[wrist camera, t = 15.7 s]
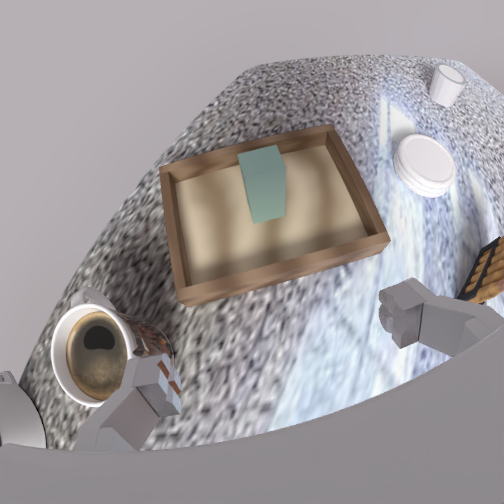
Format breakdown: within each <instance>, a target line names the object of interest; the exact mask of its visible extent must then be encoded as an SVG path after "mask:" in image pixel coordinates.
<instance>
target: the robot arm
mask: <svg viewBox="0 0 504 504" xmlns="http://www.w3.org/2000/svg"><path fill="white" fill-rule="evenodd" d="M379 301H380V302H381V303H382V305H381V306H380V308H379V318H380V322H381V324H382V326H383V328H384V329H385V331H386V332H389V333H392V339H393V341H394V342H395V343H396V344H397V346H398V347H399V348H400V349H401V348H404V347H406V346H408V345H411V344H413V343H415V342H417V341H419V342H420V343H422V344H424V345H426V346H429V347H431V348H433V349H435V350H438V351H440V352H442V353H444V354H447V355H449V356H451V357H453V358H451V359H449V360H448V361H446V362H444V363H442V364H440V365H439V366H437V367H435V368H433V369H431V370H429V371H428V372H426V373H424V374H422V375H420V376H418V377H416V378H414V379H412V380H410V381H408V382H406V383H404V384H402V385H400V386H397V387H395V388H393V389H391V390H389V391H386V392H384V393H382V394H380V395H377V396H375V397H373V398H370V399H368V400H365V401H363V402H360V403H358V404H355V405H353V406H350V407H347V408H345V409H342V410H339V411H336V412H334V413H331V414H328V415H325V416H322V417H319V418H316V419H313V420H309V421H306V422H303V423H300V424H296V425H293V426H289V427H285V428H282V429H278V430H274V431H270V432H266V433H262V434H258V435H253V436H249V437H244V438H239V439H234V440H229V441H224V442H218V443H212V444H205V445H199V446H191V447H183V448H174V449H164V450H151V451H140V449H141V448H142V446H143V444H144V443H145V441H146V440H147V438H148V437H149V435H150V433H151V432H152V430H153V429H154V427H155V426H156V424H157V422H158V421H159V419H160V417H166V416H172V415H178V414H180V407H181V400H180V399H179V397H178V395H179V394H180V392H181V381H180V377H179V374H178V372H177V370H176V369H175V368H174V367H172V366H170V361H171V360H170V358H169V357H168V355H167V354H166V353H159V354H154V355H148V356H142V357H137V358H132V359H129V360H128V361H127V364H126V367H125V371H124V375H123V379H122V382H121V386H120V389H118V390H116V391H115V392H114V393H113V394H112V395H111V396H110V397H109V398H108V399H107V400H106V401H105V402H104V403H103V404H102V405H101V406H100V407H99V408H98V409H97V410H96V411H95V412H94V413H93V414H92V415H91V417H90V418H89V419H88V420H87V421H86V422H85V423H84V424H83V425H82V426H81V427H80V429H79V433H78V436H77V440H76V444H75V447H74V451H68V450H56V449H46V440H45V433H44V429H43V425H42V422H41V419H40V417H39V414H38V412H37V410H36V408H35V406H34V404H33V403H32V401H31V399H30V398H29V397H28V395H27V394H26V393H25V392H24V391H23V390H22V389H21V388H20V387H19V386H18V385H17V383H16V381H15V379H14V377H13V375H12V373H11V372H9V371H4V372H2V373H0V504H504V318H503V317H502V316H500V315H499V314H498V313H497V312H496V311H494V310H493V309H492V308H491V307H489V306H485V305H480V304H476V303H472V302H467V301H463V300H458V299H454V298H449V297H445V296H441V295H440V296H436V295H435V294H433V293H432V292H431V291H430V290H429V289H428V288H426V287H425V286H424V285H423V284H422V283H420V282H419V281H418V280H417V279H415V278H410V279H407V280H405V281H403V282H401V283H398V284H396V285H393V286H391V287H388V288H386V289H383V290H380V292H379Z"/></svg>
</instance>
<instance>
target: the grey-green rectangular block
mask: <svg viewBox="0 0 504 504" xmlns="http://www.w3.org/2000/svg"><path fill="white" fill-rule="evenodd" d="M237 155H238V160H239V164H240V169H241V174H242V179H243V183H244V188H245V193H246V198H247V202H248V206H249V210H250V213H251V216H252V220H253V223H254V224H257V223H261V222H264V221H268V220H272V219H275V218H279V217H283V216H285V200H286V166H285V164H284V162H283V159H282V157H281V154H280V152H279V150H278V147H277V145H273V146H269V147H264V148H260V149H256V150H252V151H248V152H244V153H241V154H237Z"/></svg>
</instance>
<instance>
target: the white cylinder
mask: <svg viewBox="0 0 504 504" xmlns="http://www.w3.org/2000/svg"><path fill="white" fill-rule="evenodd" d="M465 84H466V79H465V78H464V76H463V75H462V74H461V73H460V72H459V71H457V70H456V69H454V68H453V67H451V66H449V65H446V64H442V63H438V64H436V67H435V71H434V75H433V78H432V82H431V86H430V90H429V94H430V96H431V98H432V99H433V100H434V101H436V102H437V103H439V104H440V105H443V106H445V107H450V106H452V105H453V103H454V102H455V100H456V99H457V97H458V95H459V94H460V92H461V91H462V89H463V88H464V86H465Z"/></svg>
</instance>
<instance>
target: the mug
mask: <svg viewBox="0 0 504 504" xmlns="http://www.w3.org/2000/svg"><path fill="white" fill-rule="evenodd" d="M84 297H86V298H88V299H90V300H91V301H92V302H94V303H84ZM159 353H166V354H167V355H168V357H169V358H170V360H171V361H170V366H172V367H174V354H173V350H172V347H171V344H170V342H169V340H168V339H167V337H166V335H165V334H164V333H163V332H162V331H161V330H160V329H159V328H158V327H156V326H155V325H153V324H151V323H149V322H146V321H143V320H140V319H137V318H135V317H132V316H129V315H126V314H124V313H121V312H118V311H117V310H116V309H115V307H114V306H113V304H112V303H111V302H110V301H109V300H108V298H107V297H105V296H104V295H103V294H102V293H101V292H99V291H98V290H96V289H94V288H91V287H83V288H82V289H80V290H79V291H77V292H76V293H75V294H73V296H72V299H71V309H70V310H69V311H67V312H66V313H65V314H64V315H63V316H62V318H61V319H60V321H59V322H58V324H57V326H56V328H55V330H54V334H53V337H52V342H51V360H52V366H53V370H54V373H55V375H56V378H57V380H58V382H59V384H60V385H61V387H62V388H63V390H64V391H65V392H66V393H67V394H68V395H69V396H70V397H71V398H72V399H74V400H75V401H77V402H79V403H81V404H83V405H86V406H89V407H100V406H101V405H102V404H103V403H104V402H105V401H106V400H107V399H108V398H109V397H110V396H111V395H112V394H113V393H114V392H115V391H116V390H118V389H120V386H121V382H122V379H123V375H124V371H125V367H126V364H127V361H128V360H129V359H132V358H137V357H142V356H148V355H154V354H159Z"/></svg>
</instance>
